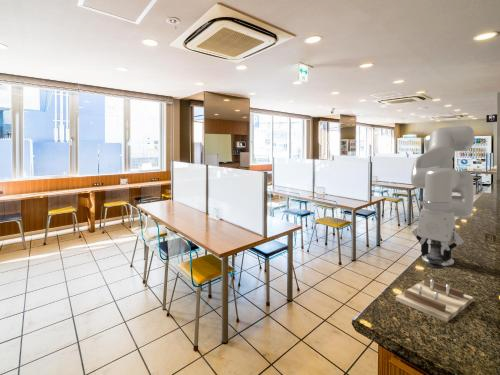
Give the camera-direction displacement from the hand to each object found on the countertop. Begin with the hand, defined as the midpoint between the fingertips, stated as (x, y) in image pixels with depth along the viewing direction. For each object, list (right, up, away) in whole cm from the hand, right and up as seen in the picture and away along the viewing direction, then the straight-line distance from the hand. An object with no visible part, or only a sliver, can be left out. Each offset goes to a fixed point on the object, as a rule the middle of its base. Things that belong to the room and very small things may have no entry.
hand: (435, 257), depth 93 cm
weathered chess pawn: (0, -3, 0) cm, 3 cm away
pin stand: (+1, -16, +2) cm, 16 cm away
